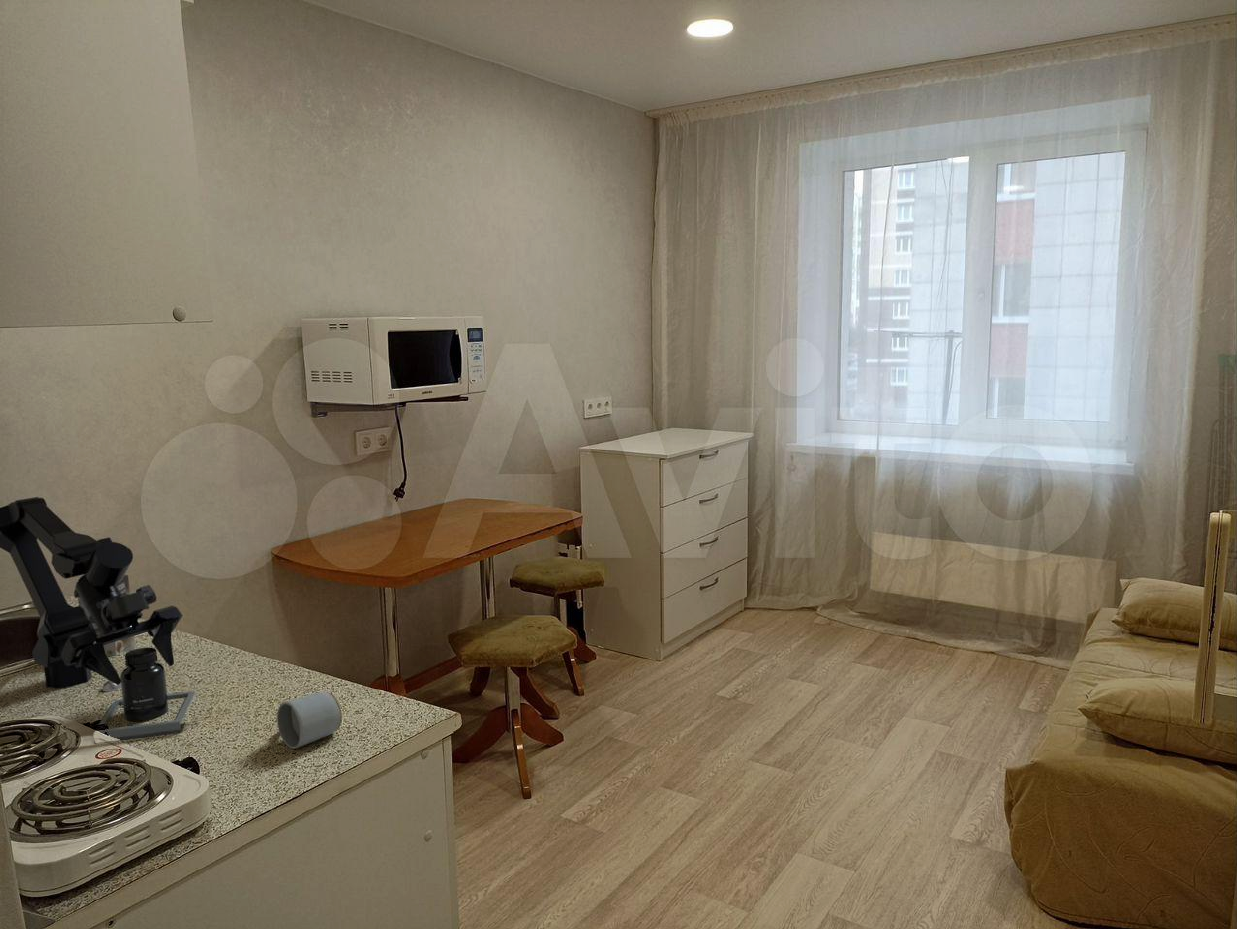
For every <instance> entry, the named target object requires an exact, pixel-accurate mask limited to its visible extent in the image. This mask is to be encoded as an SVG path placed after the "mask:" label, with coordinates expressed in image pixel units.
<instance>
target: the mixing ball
mask: <svg viewBox="0 0 1237 929" xmlns="http://www.w3.org/2000/svg"><path fill="white" fill-rule="evenodd" d="M119 689H120V690H121V683H120V684H119V685H116V684H115V683H113V682H111V681H110V680H108V681H105V683H104V684H103V686H102V692H104V693H110V692H115V691H118V690H119Z"/></svg>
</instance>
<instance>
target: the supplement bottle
mask: <svg viewBox="0 0 1237 929" xmlns="http://www.w3.org/2000/svg"><path fill="white" fill-rule="evenodd" d="M157 652H158V651H157V649H156V647H155V648H154V647H149V646H148V647H140V648H133V649H132V650H131V651H128V652H126V653H125V654H124V665H125V668H124V669H123V670H122V671H121V673H120V675H119V677H120V679H121V683H120V685H121V688H120V690H121V698H122V699H121V700H123V704H122V708H123V716H124V720H125V721H126V722H130V723H142V722H147V721H149V722H150V721H151V720H155V719H158V718H161V717H163V716H164V715H165V714H167V713H168V711H169V702H168V701H169V699H168V698H167V694H168V689H167V679H166V670H165V667H164V665H163V664H161V663H160V662H157V661H158V655H157V654H158V653H157Z"/></svg>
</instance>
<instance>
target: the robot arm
mask: <svg viewBox="0 0 1237 929" xmlns="http://www.w3.org/2000/svg"><path fill="white" fill-rule="evenodd" d="M39 542H40V543H42V545H43V546H44V547H45V548H46V549H47V550H48V551H49V552H50V554H52V555H51V565H52V566H53V568H54V571H55V572H56V573H57V574H58V575H60V577H61V578H63V579H71V578H75V577H79V579H78V580H77V582H76V585H75V587H74V590H73V591H74V592H73V596H74V598H75V599H78V597H81V599H82V601H83V602H84V604H85V606H86V608H87V609H88V611H89V613H90V615H91V616H90V618H89V620H88V618H87V617H86V614H85V612H84V609H83V608H82V607H81V606H79V605H76V606H73V605H71V604H69V603H68V602H67V600H66V597H65V595H64V594H63V591H62V589H61V586H60V585H59V582H58V581H57V579H56V577H55V574H54V573H53V571H52V569H51V567H50V564H49V563H48V560H47V558H46V557H45V554H44V552H43V550H42V548H41V546H40V543H39ZM0 549H1V550H3V551H5V552H7V553H8V554H10V556H11V558H12V560H13V563H14V565H15V567H16V568H17V571H18V573H19V575H20V577H21V579H22V582H23V584H24V586H25V588H26V589H27V592H28V594H29V596H30V599H31V601H32V603H33V604H34V607H35V608H36V611H37V613H38V615H39V618H40V620H39V624H38V626H37V627H38V628H37V631H36V635H37V639H38V640H37V641H36V643H35V646H34V648H33V649H32V651H31V653H32V658H33V660H34V663H35V664H37V665H39V666H41V667H43V670H44V678H45V686H46V688H53V689H65V688H70V687H74V686H75V687H76V686H78V685H81V684H82V685H83V684H87V683H89V682H90V680H91V679H92V677H93V675H92V672H94V673H96V674H97V675H100V676H101V677H103V678H105V679H106V680H108V681H109V680H110V681H111V682H113V683H115V684H116V685H119V684H120V685H121V679H120V675H119V673H118V672H117V670H116V668H115V667H114V665H113V664H112V662H111V660H110V659H109V656H107V655H106V653H105V650H104V646H103V645H106V644H109V643H113V642H116V641H119V640H122V639H125V638H129V637H132V636H135V637H136V636H137V635H140V634H145V633H147V634H148V635H149V637H152V639H151V643H152V645H153V646H154V647H155V649H156V651H157V652H158V653H159V654H160V656H161V657H162V658H163V660H164V661H165V663H166V664H167V665H168V666H169V667H172V666H173V665H174V664H175V660H174V651H173V645H172V633H173V632H174V630H175V629H176V627H177V625H178V624H179V622H180V621H181V619H182V617H183V613H182V612H181V610H180V609H179V608H178V607H177V606H176V605H169V606H165V607H163V608H158V609H155V610H153V612H152V613H151V615H150V617H149V619H147V620H144V621H141V622H139V620H140V619H141V618H142V617H143V615H144V614H143V611H144V610H149V609H150V606H149V605H151V604H153V603H155V602H157V594H156V592H155V591H154V589H153V587H151V585H150V584H148V585H144V586H141V587H139V588H138V589H135V592H132V593H130V594H129V595H127V594H126V593H125V594H122V593H121V592H120V590H119V588H118V587H117V584H119V583H120V582H121V580H122V579H123V577H124V575H126V573H127V571H128V569H129V567H130V566H131V563H132V561H133V558H134V554H133V551H132V550H131V548H130V547H127V546H126V545H124V544H123V543H120V542H115V541H113V540H112V539H111V537H109V536H108V537H104V538H100V539H95V538H94V537H92V536H90V535H88V534H82V533H79V532H78V533H77V532H75V531H74V530H73V529H72V528H70V527H69V525H68V524H67V523H65V522H64V520H62V519H61V518H60V517H59V516H58V515H57V514H56V513H55V512H53V510H52V509H51V508H50V507H48V505H47V501H46V500H45V499H44V497H38V496H35V497H29V498H23V499H17V500H16V499H15V500H14V501H13V502H10V503H9V504H7V505H4V506H2V507H0ZM93 623H95V624H96V625H97V627H98V629H99V631H100V632H101V634H100V635H97V634H96V632H95V629H94V627H93V626H92V624H93Z"/></svg>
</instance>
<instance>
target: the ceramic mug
mask: <svg viewBox="0 0 1237 929" xmlns="http://www.w3.org/2000/svg"><path fill="white" fill-rule="evenodd" d="M342 714H343V712H342V708H341V704H340V703H339V701H338V699H337V698H336V696H335V695H334V694H332V693H331V692H329V691H320V692H319V691H318V692H314V693H311V694H309V695H308V694H307V695H305V696H301V697H297V698H296V697H295V698H293V699H288V700H285V701H283V702H281V704H279V706H278V707H277V712H276V723H277V728H278V733H279V735H280V737H281V739H282V741H283V743H284V744H285V745H286V746H287V747H288V748H289V749H292V750H295V749H299V748H301V747H303V746H306V745H308V744H311V743H313V742H316V741H318V740H320V739H324V738H325V737H328V736H331V735H332V734H334V733H335V732H337V731H338V730H339V728H340V727H341V724H342V719H343V715H342Z"/></svg>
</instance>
